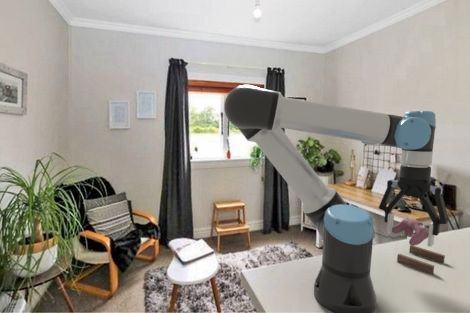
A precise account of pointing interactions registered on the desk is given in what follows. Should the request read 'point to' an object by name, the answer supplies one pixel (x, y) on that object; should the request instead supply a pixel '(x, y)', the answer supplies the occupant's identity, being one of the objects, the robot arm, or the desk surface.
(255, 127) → the robot arm
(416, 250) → the dock
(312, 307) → the desk surface
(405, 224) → the video game controller
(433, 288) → the desk surface
